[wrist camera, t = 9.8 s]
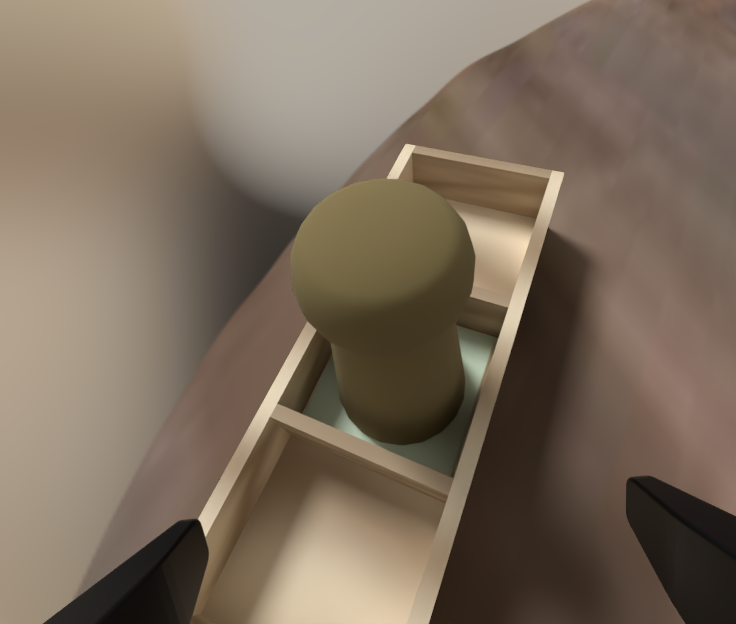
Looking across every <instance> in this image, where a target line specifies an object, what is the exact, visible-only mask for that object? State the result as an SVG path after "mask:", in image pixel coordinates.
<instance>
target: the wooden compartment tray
mask: <svg viewBox="0 0 736 624" xmlns="http://www.w3.org/2000/svg"><path fill="white" fill-rule="evenodd" d="M563 176H564V173H563V172H557V171H552V170H546V169H541V168H535V167H530V166H524V165H519V164H514V163H508V162H503V161H497V160H492V159H486V158H481V157H475V156H470V155H464V154H459V153H453V152H448V151H442V150H437V149H432V148H426V147H421V146H415V145H410V144H405V146H404V148H403V150H402V152H401V153H400V155H399V157H398V159H397V161H396V162H395V164H394V166H393V168H392V170H391V172H390V173H389V175H388V177H387V179H403V180H406V181H410V182H414V183H417V184H421V185H424V186H426V187H427V188H429V189H431V190H432V191H434V192H436V193H437V194H439V195H441V196H442V197H443V198H444V199H445V200H446V201H447V202H448V203H449V204H450V205H451V206H452V207H453V208H454V209H455V211H456V212H457V213H458V214H459V215H460V217H461V218H462V219H463V220H464V221H465V223H466V226H467V229H468V232H469V235H470V238H471V241H472V244H473V248H474V252H475V256H476V258H475V272H474V283H473V288H472V293H471V295H470V297H469V299H468V301H467V303H466V305H465V307H464V309H463V311H462V314H461V316H460V317H459V318H458V320H457V321H456V325H457V331H458V337H459V343H460V349H461V355H462V362H463V368H464V374H465V391H464V400H463V402H462V404H461V406H460V409H459V411H458V413H457V415H456V417H455V418H454V419H453V421H452V422H451V423H450V424H449V425H448V426H447V427H446V428H445V429H444V430H443V431H442V432H441V433H439V434H437V435H435V436H433V437H432V438H430V439H428V440H426V441H424V442H420V443H414V444H408V445H395V444H389V443H383V442H379V441H378V440H376V439H374V438H372V437H370V436H368V435H366V434H364V433H362V432H361V431H360V430H359V428H358V427H357V426H356V425H355V424H354V423H353V422H352V421H351V420H350V419H349V418H348V416H347V413H346V411H345V409H344V407H343V405H342V403H341V400H340V394H339V389H338V383H337V377H336V371H335V365H334V360H333V354H332V348H331V342H329V341H328V340H326V339H325V338H324V337H323V336H322V335H321V334H320V333H319V332H318V331H317V330H316V329H315V328H314V327H313V326H312V325H311V324H310V323H309V322H307V323H306V325H305V327H304V329H303V331H302V332H301V334H300V336H299V338H298V340H297V341H296V343H295V345H294V347H293V349H292V350H291V352H290V354H289V356H288V358H287V359H286V361H285V363H284V365H283V367H282V369H281V370H280V372H279V374H278V376H277V378H276V379H275V381H274V383H273V385H272V387H271V388H270V390H269V392H268V394H267V396H266V397H265V399H264V401H263V403H262V405H261V406H260V408H259V410H258V412H257V414H256V416H255V417H254V419H253V421H252V423H251V425H250V426H249V428H248V430H247V432H246V434H245V435H244V437H243V439H242V441H241V443H240V444H239V446H238V448H237V450H236V452H235V453H234V455H233V457H232V459H231V461H230V463H229V464H228V466H227V468H226V470H225V472H224V473H223V475H222V477H221V479H220V481H219V482H218V484H217V486H216V488H215V490H214V491H213V493H212V495H211V497H210V499H209V500H208V502H207V504H206V506H205V508H204V510H203V511H202V513H201V515H200V517H199V519H198V520H199V521H200V522H201V524H202V528H203V531H204V535H205V538H206V541H207V545H208V549H209V559H208V564H207V567H206V571H205V574H204V578H203V581H202V585H201V588H200V592H199V595H198V599H197V602H196V606H195V609H194V613H193V616H192V620H191V623H190V624H429V621H430V618H431V615H432V611H433V608H434V605H435V601H436V598H437V595H438V591H439V588H440V585H441V581H442V578H443V575H444V571H445V568H446V565H447V562H448V558H449V555H450V552H451V548H452V545H453V542H454V538H455V535H456V532H457V528H458V525H459V522H460V518H461V515H462V512H463V508H464V505H465V502H466V498H467V495H468V492H469V488H470V485H471V482H472V478H473V475H474V472H475V468H476V465H477V462H478V458H479V455H480V452H481V448H482V445H483V442H484V438H485V435H486V432H487V428H488V425H489V422H490V418H491V415H492V412H493V409H494V405H495V402H496V399H497V395H498V392H499V389H500V385H501V382H502V379H503V375H504V372H505V369H506V365H507V362H508V359H509V355H510V352H511V349H512V345H513V342H514V339H515V335H516V332H517V329H518V325H519V322H520V319H521V315H522V312H523V309H524V305H525V302H526V299H527V295H528V292H529V289H530V285H531V282H532V279H533V275H534V272H535V269H536V266H537V262H538V259H539V256H540V252H541V249H542V246H543V242H544V239H545V236H546V232H547V229H548V226H549V222H550V219H551V216H552V212H553V209H554V206H555V202H556V199H557V196H558V192H559V189H560V186H561V182H562V179H563Z"/></svg>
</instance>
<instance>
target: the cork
mask: <svg viewBox="0 0 736 624" xmlns="http://www.w3.org/2000/svg"><path fill="white" fill-rule="evenodd" d="M475 258H476V256H475V252H474V248H473V244H472V241H471V238H470V235H469V232H468V229H467V226H466V223H465V221H464V220H463V219H462V218H461V217H460V215H459V214H458V213H457V212H456V211H455V209H454V208H453V207H452V206H451V205H450V204H449V203H448V202H447V201H446V200H445V199H444V198H443V197H442V196H441V195H439V194H437V193H436V192H434V191H432V190H431V189H429V188H427V187H426V186H424V185H421V184H417V183H414V182H410V181H406V180H403V179H379V178H378V179H373V180H368V181H363V182H357V183H354V184H351V185H349V186H347V187H344V188H342V189H340V190H338V191H335V192H333V193H332V194H330V195H329V196H328V197H327V198H325V199H324V200H323V201H321V202H320V203H319V204H318V205H316V206H315V207H314V208H313V210H312V211H311V212H310V214H309V215H308V216H307V218H306V219H305V220H304V222H303V223H302V225H301V227H300V229H299V231H298V233H297V236H296V239H295V242H294V245H293V248H292V251H291V254H290V260H291V280H292V290H293V292H294V295H295V297H296V299H297V301H298V303H299V305H300V308H301V310H302V312H303V314H304V315H305V317H306V319H307V321H308V322H309V323H310V324H311V325H312V326H313V327H314V328H315V329H316V330H317V331H318V332H319V333H320V334H321V335H322V336H323V337H324V338H325V339H326V340H328V341H329V342H331V348H332V354H333V360H334V365H335V371H336V377H337V383H338V389H339V394H340V400H341V403H342V405H343V407H344V409H345V411H346V413H347V416H348V418H349V419H350V420H351V421H352V422H353V423H354V424H355V425H356V426H357V427H358V428H359V430H360V431H361V432H362V433H364V434H366V435H368V436H370V437H372V438H374V439H376V440H378V441H379V442H383V443H389V444H395V445H408V444H414V443H420V442H424V441H426V440H428V439H430V438H432V437H433V436H435V435H437V434H439V433H441V432H442V431H443V430H444V429H445V428H446V427H447V426H448V425H449V424H450V423H451V422H452V421H453V419H454V418H455V417H456V415H457V413H458V411H459V409H460V406H461V404H462V402H463V400H464V391H465V374H464V368H463V362H462V355H461V349H460V343H459V337H458V331H457V325H456V321H457V320H458V318H459V317H460V316H461V314H462V311H463V309H464V307H465V305H466V303H467V301H468V299H469V297H470V295H471V293H472V288H473V283H474V272H475Z"/></svg>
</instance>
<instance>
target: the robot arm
mask: <svg viewBox="0 0 736 624" xmlns="http://www.w3.org/2000/svg"><path fill="white" fill-rule="evenodd" d="M626 515H627V519H628V521H629V524H630V526H631V528H632V530H633V532H634V533H635V535H636V537H637V539H638V541H639V543H640V545H641V546H642V548H643V550H644V552H645V554H646V556H647V557H648V559H649V561H650V563H651V565H652V567H653V569H654V570H655V572H656V574H657V576H658V578H659V580H660V582H661V583H662V585H663V587H664V589H665V591H666V593H667V594H668V596H669V598H670V600H671V601H672V603H673V605H674V606H675V608H676V609H677V611H678V613H679V614H680V616H681V617H682V619H683V620H684V622H685V623H686V624H736V516H734V515H732V514H730V513H728V512H726V511H724V510H721V509H719V508H717V507H715V506H713V505H711V504H709V503H707V502H705V501H703V500H701V499H698V498H696V497H694V496H692V495H690V494H688V493H686V492H684V491H682V490H680V489H678V488H675V487H673V486H671V485H669V484H667V483H665V482H663V481H661V480H659V479H657V478H654V477H652V476H636V477H630V478H629V479H628V480H627V484H626ZM208 559H209V549H208V545H207V541H206V538H205V535H204V531H203V528H202V524H201V522H200V521H199V520H198V519H187V520H180V521H178V522H176V523H175V524H174V525H172V526H171V527H170V528H169V529H167V530H166V531H165V532H163V533H162V534H161V535H159V536H158V537H157V538H155V539H154V540H153V541H151V542H150V543H149V544H147V545H146V546H145V547H143V548H142V549H141V550H139V551H138V552H137V553H135V554H134V555H133V556H132V557H130V558H129V559H128V560H126V561H125V562H124V563H122V564H121V565H120V566H118V567H117V568H116V569H114V570H113V571H112V572H110V573H109V574H108V575H106V576H105V577H104V578H102V579H101V580H100V581H99V582H97V583H96V584H95V585H93V586H92V587H91V588H89V589H88V590H87V591H85V592H84V593H83V594H81V595H80V596H79V597H77V598H76V599H75V600H73V601H72V602H71V603H69V604H68V605H67V606H65V607H64V608H63V609H62V610H60V611H59V612H58V613H56V614H55V615H54V616H52V617H51V618H50V619H48V620H47V621H46V622H44V623H43V624H190V623H191V620H192V616H193V613H194V609H195V606H196V602H197V599H198V595H199V592H200V588H201V585H202V581H203V578H204V574H205V571H206V567H207V564H208Z"/></svg>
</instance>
